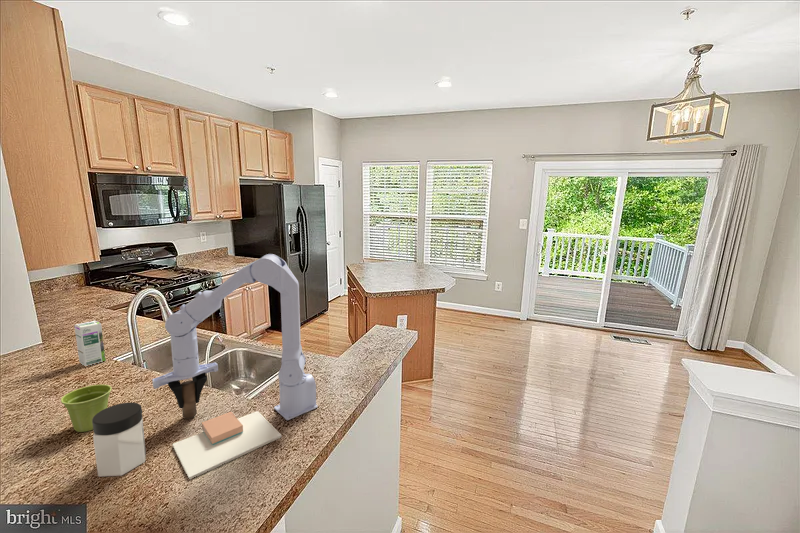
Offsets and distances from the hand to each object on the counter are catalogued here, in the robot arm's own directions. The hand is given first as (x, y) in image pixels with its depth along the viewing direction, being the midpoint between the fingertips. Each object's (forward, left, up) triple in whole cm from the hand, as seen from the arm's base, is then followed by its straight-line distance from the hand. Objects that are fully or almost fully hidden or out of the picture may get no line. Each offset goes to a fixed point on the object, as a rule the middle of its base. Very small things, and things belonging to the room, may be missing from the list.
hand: (189, 403), depth 90 cm
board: (-4, +17, -4) cm, 18 cm away
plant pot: (+19, -13, -4) cm, 23 cm away
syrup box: (+16, -59, -4) cm, 61 cm away
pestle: (0, 0, -3) cm, 3 cm away
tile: (-4, +9, -2) cm, 10 cm away
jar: (+15, +9, -4) cm, 18 cm away
